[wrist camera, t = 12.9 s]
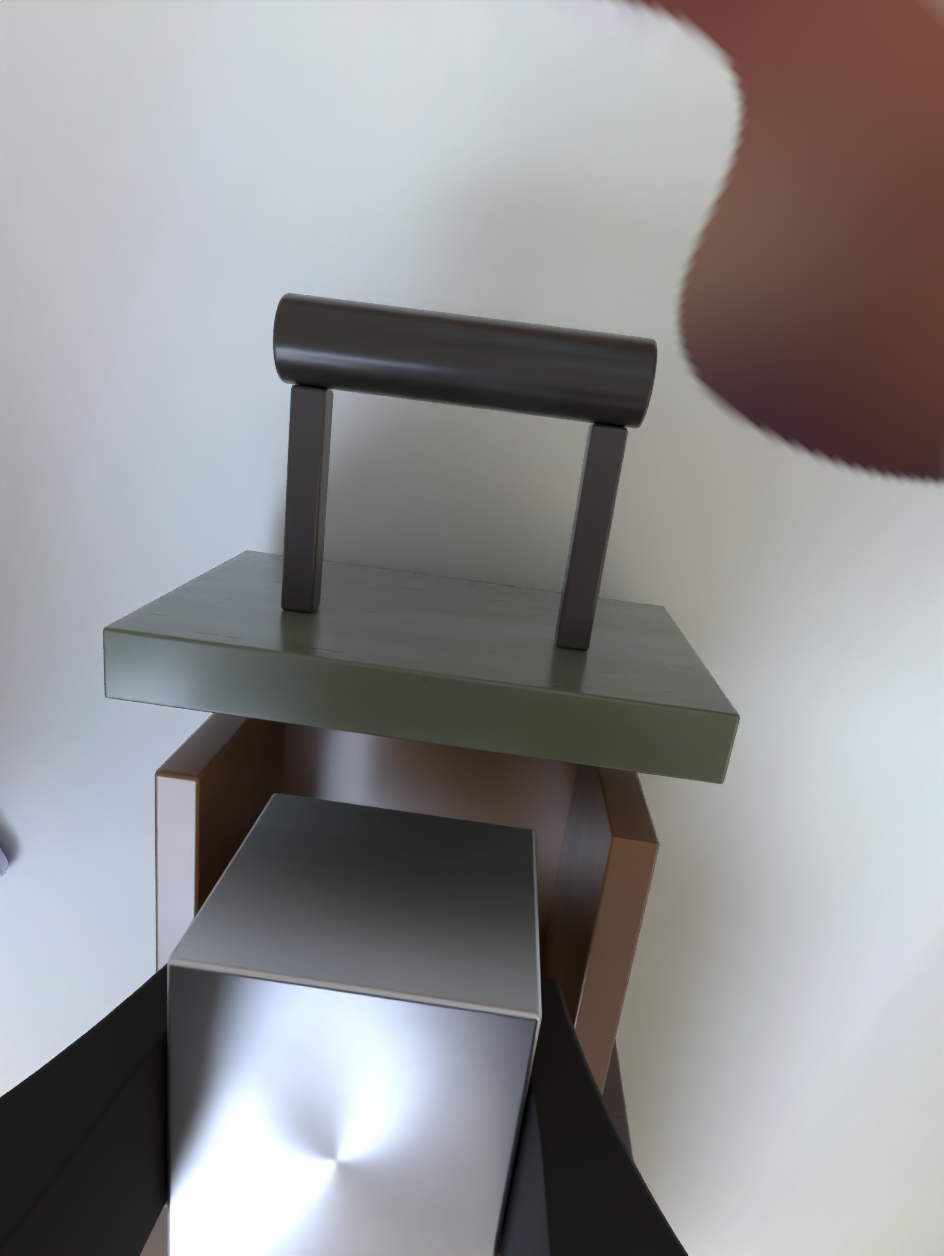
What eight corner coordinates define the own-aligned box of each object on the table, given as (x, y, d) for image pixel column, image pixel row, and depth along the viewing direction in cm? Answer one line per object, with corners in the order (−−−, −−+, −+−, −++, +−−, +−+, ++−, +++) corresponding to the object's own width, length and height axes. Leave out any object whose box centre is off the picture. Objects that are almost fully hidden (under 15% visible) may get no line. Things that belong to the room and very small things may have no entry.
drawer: (253, 308, 16) (90, 249, 10) (715, 366, 16) (836, 343, 10) (232, 977, 21) (117, 1206, 15) (576, 1028, 21) (599, 1281, 15)
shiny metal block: (273, 790, 13) (164, 960, 9) (536, 828, 12) (543, 1016, 9) (261, 1043, 14) (164, 1279, 10) (493, 1078, 14) (483, 1330, 10)
